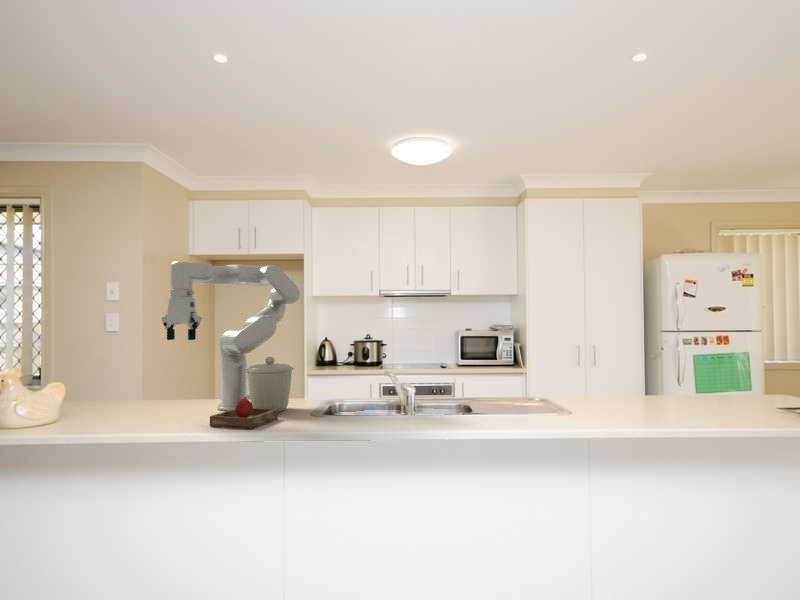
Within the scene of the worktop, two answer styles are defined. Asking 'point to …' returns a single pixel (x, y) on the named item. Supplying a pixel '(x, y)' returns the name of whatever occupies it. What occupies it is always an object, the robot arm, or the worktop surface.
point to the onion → (244, 408)
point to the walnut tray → (244, 419)
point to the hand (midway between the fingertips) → (181, 339)
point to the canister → (269, 384)
